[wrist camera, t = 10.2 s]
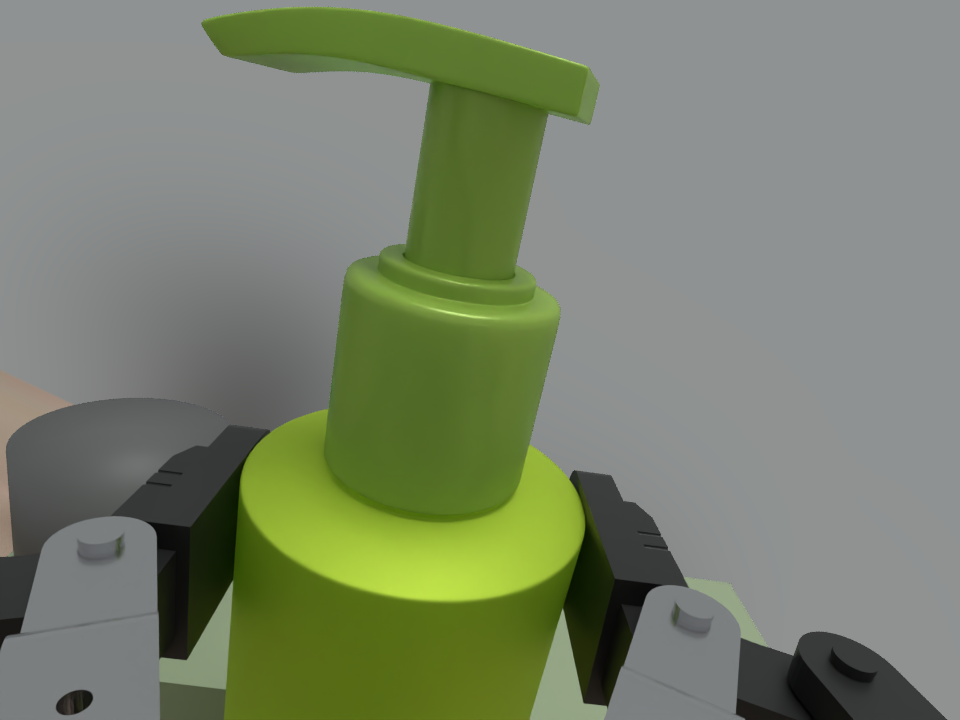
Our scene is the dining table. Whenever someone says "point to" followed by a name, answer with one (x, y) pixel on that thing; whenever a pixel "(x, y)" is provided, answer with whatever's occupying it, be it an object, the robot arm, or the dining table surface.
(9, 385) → the dining table surface
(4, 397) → the dining table surface
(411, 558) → the soap dispenser
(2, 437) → the dining table surface
